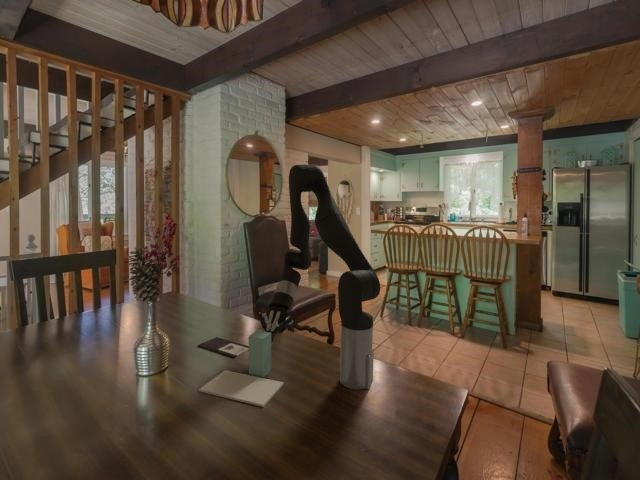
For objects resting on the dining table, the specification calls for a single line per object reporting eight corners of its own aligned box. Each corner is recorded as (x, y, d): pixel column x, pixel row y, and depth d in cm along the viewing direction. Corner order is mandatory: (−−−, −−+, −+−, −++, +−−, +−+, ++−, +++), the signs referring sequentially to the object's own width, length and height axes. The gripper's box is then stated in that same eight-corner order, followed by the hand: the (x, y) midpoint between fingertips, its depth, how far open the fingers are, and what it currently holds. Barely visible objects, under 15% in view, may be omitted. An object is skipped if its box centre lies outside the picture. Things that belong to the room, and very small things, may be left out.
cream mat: (283, 384, 95) (283, 382, 95) (263, 406, 84) (263, 404, 84) (225, 372, 101) (225, 370, 101) (199, 391, 90) (199, 389, 90)
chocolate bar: (216, 337, 127) (251, 347, 118) (216, 339, 128) (252, 349, 119) (197, 345, 120) (233, 356, 111) (197, 347, 120) (233, 359, 111)
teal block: (271, 369, 103) (271, 332, 102) (263, 377, 99) (263, 338, 97) (257, 367, 105) (257, 330, 104) (248, 374, 100) (248, 336, 99)
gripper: (263, 289, 115) (244, 335, 104) (298, 292, 110) (281, 341, 100) (270, 300, 120) (253, 345, 110) (304, 304, 116) (289, 351, 105)
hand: (266, 343), depth 105 cm, fingers closed
